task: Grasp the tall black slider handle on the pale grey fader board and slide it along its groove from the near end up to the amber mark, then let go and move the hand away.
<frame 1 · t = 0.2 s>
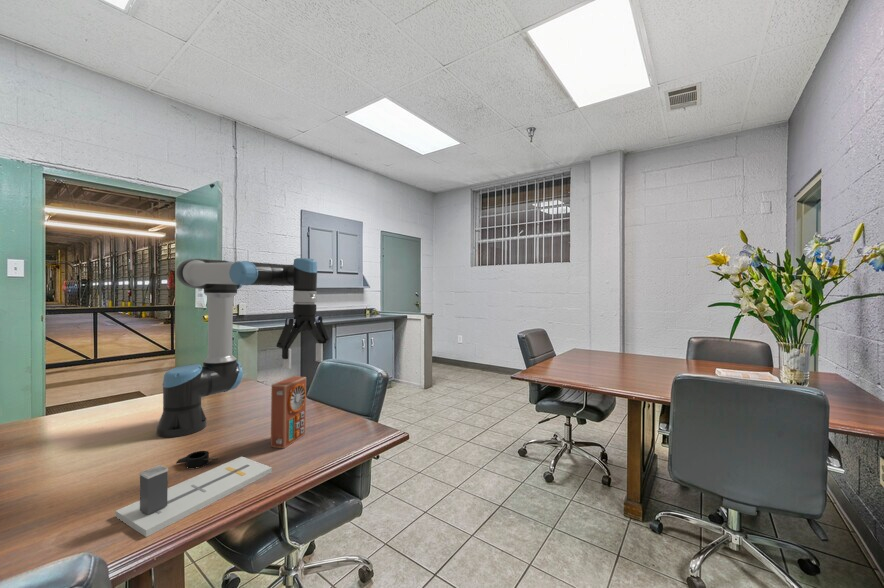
hand: (303, 364, 123), 28 cm above the table, tool pointing down, fingers open, 13 cm apart
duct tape: (197, 465, 109), on the table
slider handle: (153, 489, 84), point 6 cm above the table, slide at 0.0 cm
control panel: (288, 440, 127), on the table
fader board: (202, 492, 94), on the table
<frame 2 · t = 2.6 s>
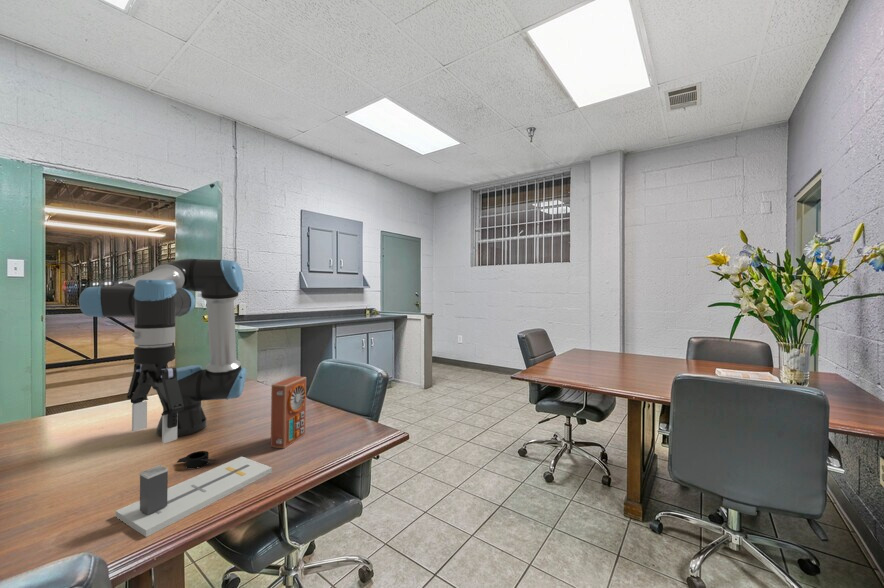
hand: (154, 435, 84), 19 cm above the table, tool pointing down, fingers open, 13 cm apart
nothing on the table moved.
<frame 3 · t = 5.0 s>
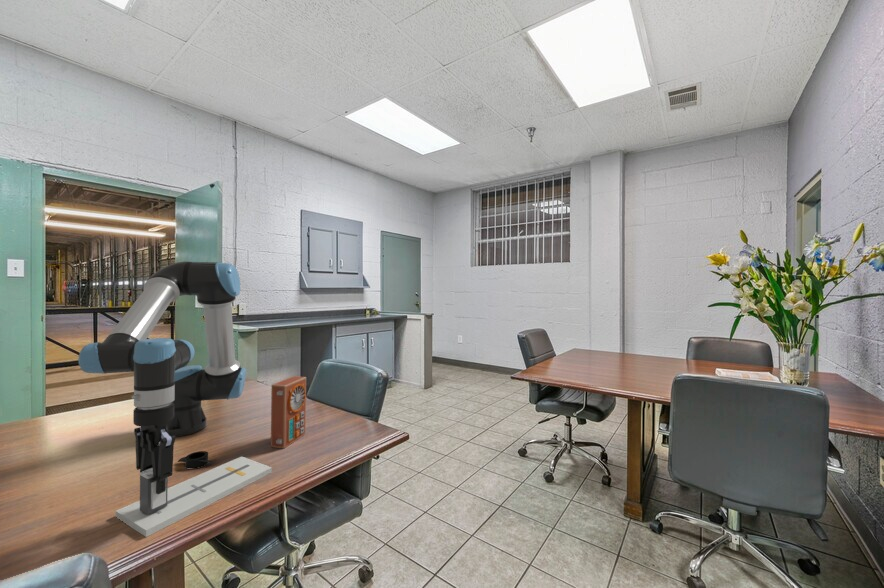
hand: (153, 502, 84), 3 cm above the table, tool pointing down, fingers closed on slider handle, 3 cm apart
slider handle: (153, 489, 84), point 6 cm above the table, slide at 0.0 cm, touching gripper
everything else where it was.
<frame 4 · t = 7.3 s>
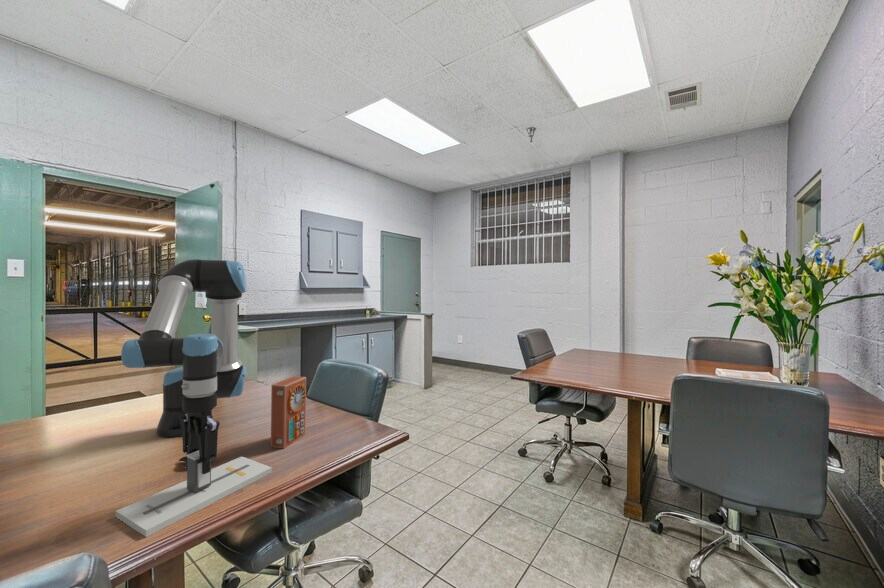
hand: (199, 482, 93), 3 cm above the table, tool pointing down, fingers closed on slider handle, 3 cm apart
slider handle: (199, 470, 93), point 6 cm above the table, slide at 10.1 cm, touching gripper
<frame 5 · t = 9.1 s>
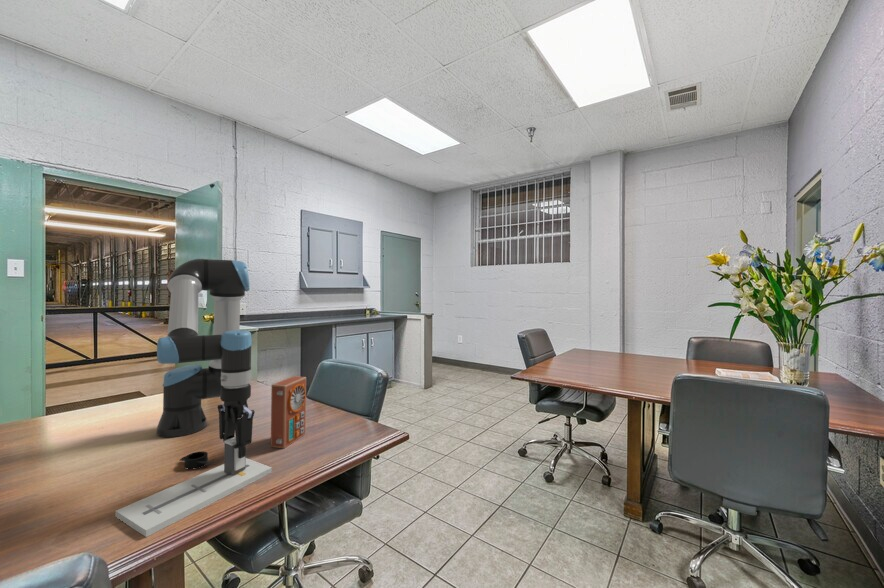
hand: (234, 466, 102), 3 cm above the table, tool pointing down, fingers closed on slider handle, 3 cm apart
slider handle: (235, 455, 102), point 6 cm above the table, slide at 19.8 cm, touching gripper
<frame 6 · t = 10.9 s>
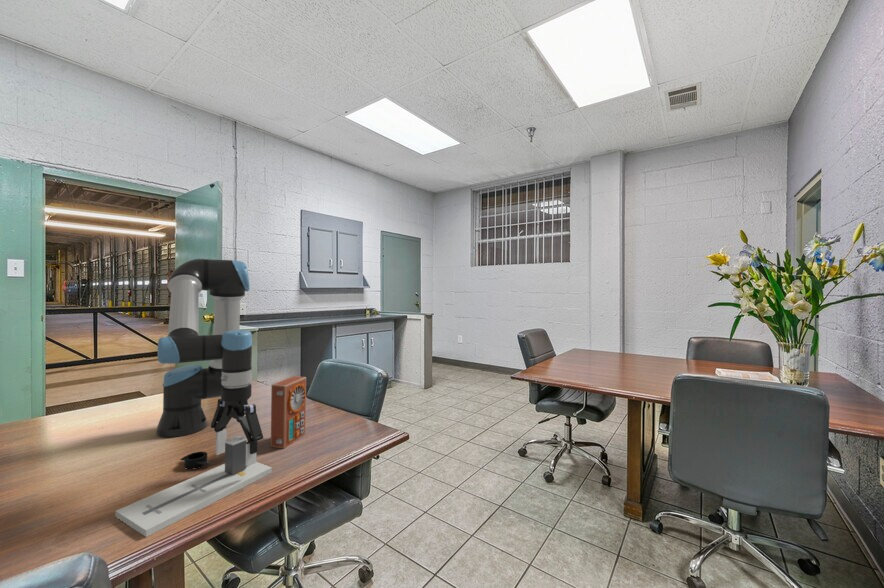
hand: (235, 458, 102), 5 cm above the table, tool pointing down, fingers open, 13 cm apart
slider handle: (235, 454, 102), point 6 cm above the table, slide at 20.0 cm
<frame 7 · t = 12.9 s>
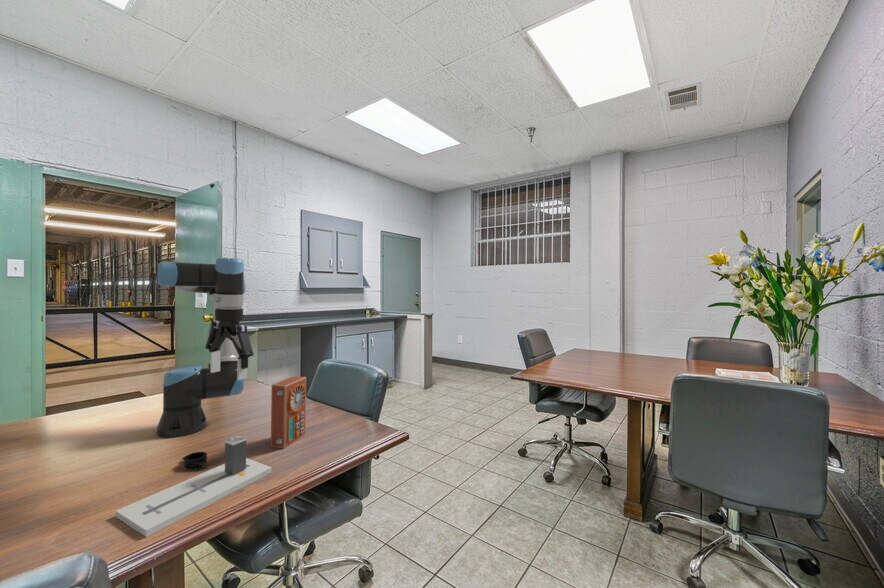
hand: (228, 375, 111), 27 cm above the table, tool pointing down, fingers open, 13 cm apart
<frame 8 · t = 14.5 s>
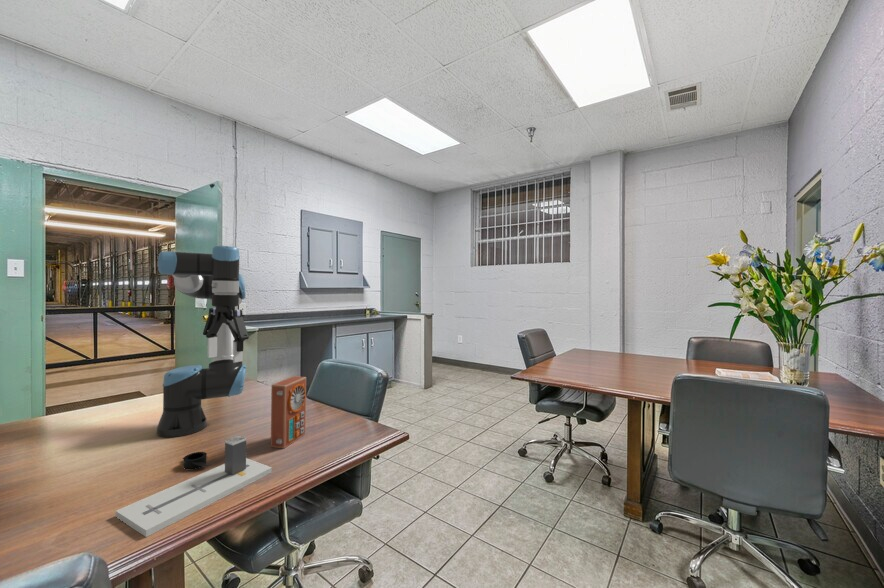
hand: (224, 359, 116), 31 cm above the table, tool pointing down, fingers open, 13 cm apart
at the end: slider handle slide at 20.0 cm; the gripper is holding nothing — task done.
